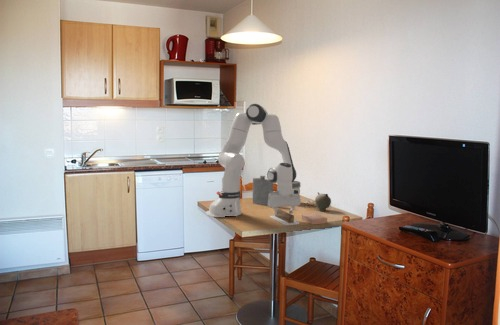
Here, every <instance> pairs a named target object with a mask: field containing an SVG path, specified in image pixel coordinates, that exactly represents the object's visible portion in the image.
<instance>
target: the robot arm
mask: <svg viewBox="0 0 500 325" xmlns="http://www.w3.org/2000/svg"><path fill="white" fill-rule="evenodd" d="M253 125H254V126H255V125H261V126H262V133H263V140H264V144H265V145H267V146H268V147H270V148H272V149H274V150H276V151H278V152H279V153H280V155H281V158H282V161H283V162H280V163H278V165H276V166H274V167H270V168H269V169H268V171H267V173H266V175H267V177H266V179H267V180H269V181H270V182H271V183H273V184H276V191H274V190H273V191H272V192H270V193H269V194H268V207H269V208H272V209H273V211H274V215H275V214H276V215H278V211H277V210H276V209H278V208H282V207H283V208H285V207H290V209H289V211H288V213H289V214H291V215H293V214H294V210H295V207H300V205H301V202H302V201H301V200H302V199H301V194H299V193H301V190H300V191H299V190H297V189H294V188H292V182H293V181H296V178H297V171H296V169H295V166H294V163H293V159H292V155H291V151H290V147H289V144H288V142H287V141H286V140H285V138H284V137H283V134H282V126H281V123H280V119H279V117H278V116H277V114H272V113H271V114H268V112H267V110H266V109H265V107H263V106H262V105H260V104H258V103H251V104H249V105H248V106H247V108H246V111H245V112H237V113H236V115H235V116H234V118H233V120H232V123H231V126H230V130H229V132H228V133H229V134H228V137H227V140H226V142H225V145H224V147H223V148H222V151H221V152H220V153H219V155H218V157H217V160H218V163H219V164H220V166H221V167H223V168H224V173H223V176H222V178H221V191H218V190H217V191H216V194H217V195H218V197H217V198H216V199H215V200H214V201H212V202H211V203H210V204H209V210H206V211H205V215H206V216H207V217H211V218H226V217H225V216H236V217H238V216H240V215H242V214H243V212H242V209H241V201H240V200H241V190H240V185H241V184H240V182H241V175H242V170H243V168H244V167H245V162H246V160H245V158H244V156H242V154H240V153H241V150H242V148H243V147H245V145H246V141H247V137H248V134H249V131H250V127H251V126H253Z"/></svg>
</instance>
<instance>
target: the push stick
mask: <svg viewBox="0 0 500 325" xmlns="http://www.w3.org/2000/svg"><path fill="white" fill-rule="evenodd" d="M276 210H277V211H278V215H276V214H275V213H274V215H275V216H276V217H278V218H280V219H282V220H284V221H286V222H287V223H294V220H295V215H293V214H290V213H289V212H287V211H285V210H283V209H281V208H279V209H278V208H277V209H276Z"/></svg>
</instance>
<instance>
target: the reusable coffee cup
mask: <svg viewBox="0 0 500 325" xmlns="http://www.w3.org/2000/svg"><path fill="white" fill-rule="evenodd" d="M301 186H302V185H301V182H300V181H297V180H294V181H293V182H292V188H294V189H297V190H299V191H300V193H301V190H300V188H301ZM300 193H299V195H301V194H300Z"/></svg>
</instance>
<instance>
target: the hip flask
mask: <svg viewBox="0 0 500 325" xmlns="http://www.w3.org/2000/svg"><path fill="white" fill-rule="evenodd" d="M265 178H266V175H260V176H259V177H253V178H252V204H254V203H256V204H255V205H259V204H260V206H268V194H269V193H270V192H272V191H273V192H274V183H271V182H270V181H269V180H268V178H266V179H265ZM268 207H269V206H268Z"/></svg>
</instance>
